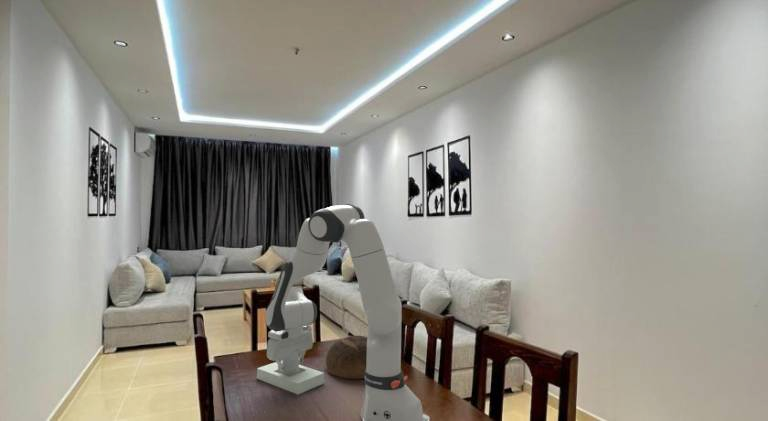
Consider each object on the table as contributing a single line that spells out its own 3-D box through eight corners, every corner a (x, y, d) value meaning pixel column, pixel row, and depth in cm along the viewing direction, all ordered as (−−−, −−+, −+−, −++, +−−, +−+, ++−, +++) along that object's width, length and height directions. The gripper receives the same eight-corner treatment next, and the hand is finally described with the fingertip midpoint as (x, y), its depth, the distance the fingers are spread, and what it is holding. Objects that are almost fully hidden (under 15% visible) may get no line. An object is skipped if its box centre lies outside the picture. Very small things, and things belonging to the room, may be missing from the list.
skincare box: (297, 378, 170) (298, 347, 170) (298, 382, 166) (299, 351, 166) (281, 379, 169) (282, 348, 169) (282, 384, 165) (282, 352, 164)
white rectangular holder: (323, 383, 166) (324, 372, 166) (297, 394, 155) (298, 383, 155) (283, 369, 180) (283, 359, 180) (256, 378, 169) (257, 368, 169)
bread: (369, 354, 200) (369, 326, 200) (401, 374, 177) (402, 341, 177) (315, 364, 187) (316, 333, 187) (343, 386, 164) (343, 351, 164)
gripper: (305, 322, 178) (305, 357, 178) (264, 333, 161) (263, 371, 161) (316, 325, 174) (316, 360, 174) (275, 337, 158) (275, 375, 158)
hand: (290, 365), depth 167 cm, fingers open, 8 cm apart
